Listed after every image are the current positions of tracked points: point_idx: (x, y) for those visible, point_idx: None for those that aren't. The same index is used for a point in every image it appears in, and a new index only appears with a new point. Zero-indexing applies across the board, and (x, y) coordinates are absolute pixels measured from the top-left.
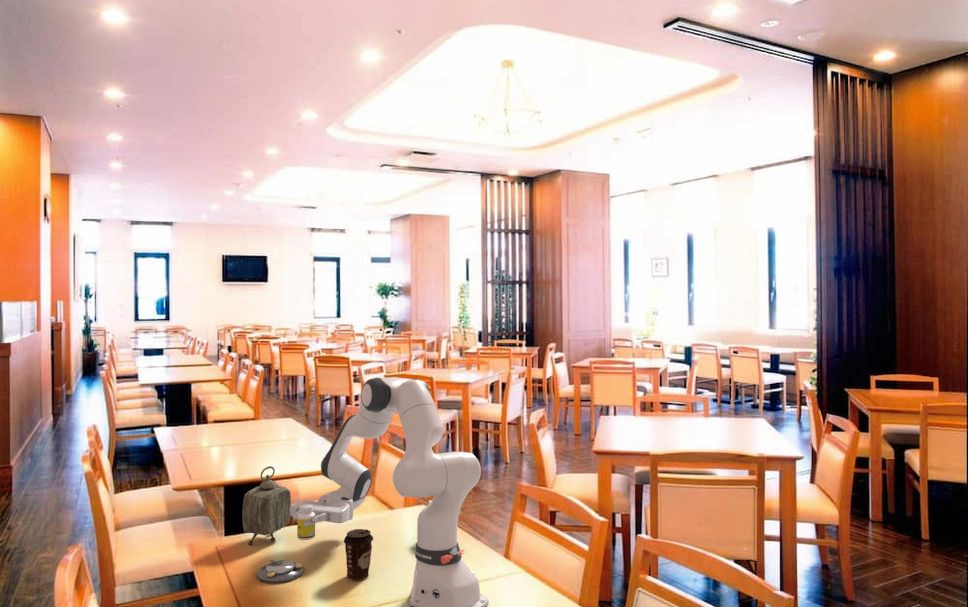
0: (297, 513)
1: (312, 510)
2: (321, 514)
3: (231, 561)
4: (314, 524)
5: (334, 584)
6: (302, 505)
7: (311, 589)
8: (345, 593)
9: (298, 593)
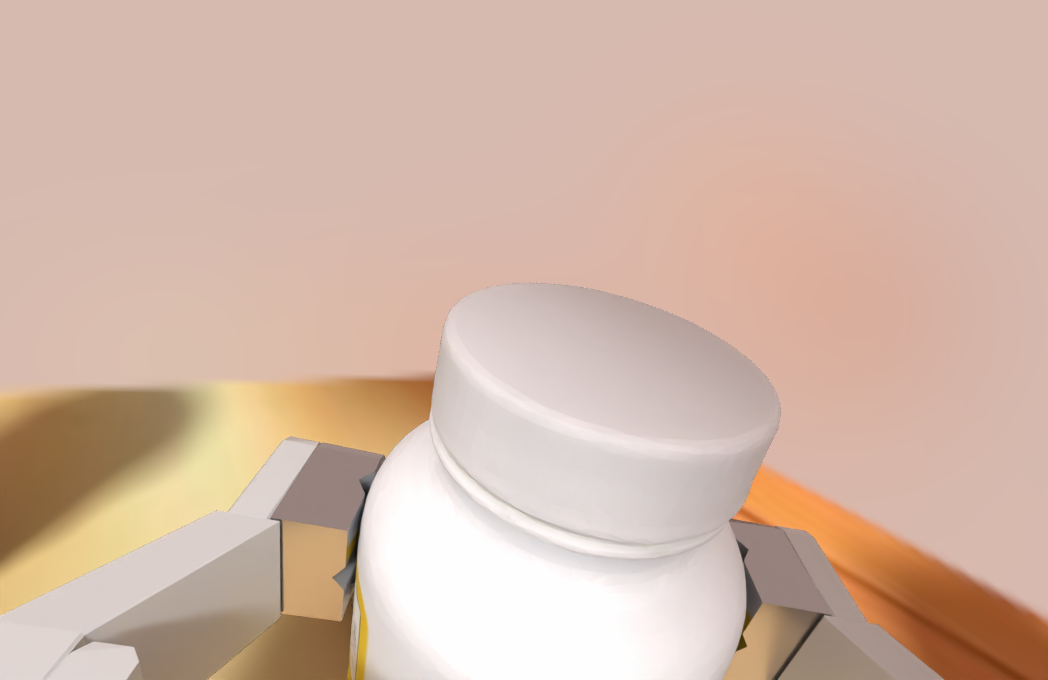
0: (807, 575)
1: (435, 440)
2: (149, 587)
3: (904, 644)
4: (349, 657)
5: (71, 496)
6: (752, 382)
7: (230, 438)
8: (4, 424)
9: (291, 407)
